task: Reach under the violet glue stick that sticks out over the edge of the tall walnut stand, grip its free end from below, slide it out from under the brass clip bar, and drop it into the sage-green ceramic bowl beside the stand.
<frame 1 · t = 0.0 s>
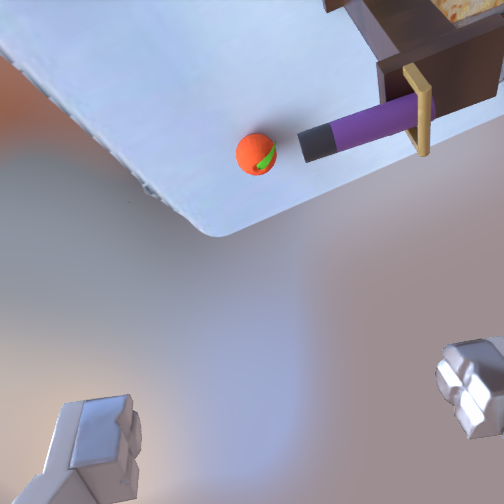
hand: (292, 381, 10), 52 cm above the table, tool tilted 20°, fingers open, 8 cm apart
food plate: (472, 18, 57), on the table
glue stick: (359, 117, 36), point 26 cm above the table, touching stand
clementine: (254, 138, 69), on the table
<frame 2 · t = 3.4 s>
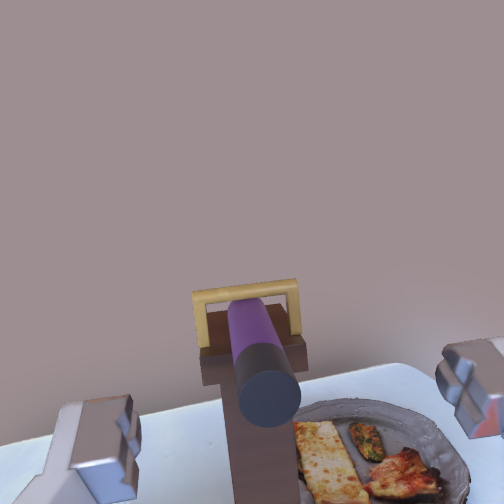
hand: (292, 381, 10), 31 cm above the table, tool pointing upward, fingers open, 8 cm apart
food plate: (360, 467, 51), on the table
glue stick: (257, 367, 23), point 26 cm above the table, touching stand
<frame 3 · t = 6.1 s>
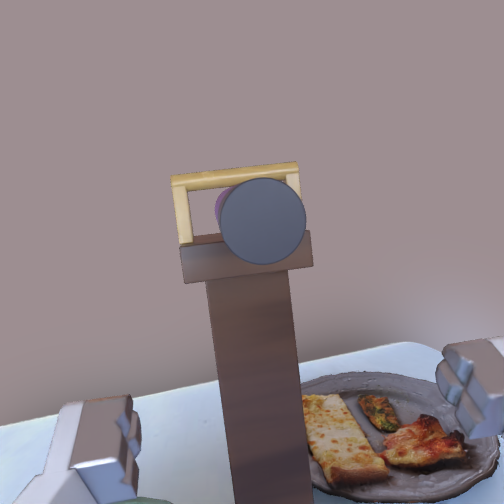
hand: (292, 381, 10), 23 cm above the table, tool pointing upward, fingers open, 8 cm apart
food plate: (373, 439, 45), on the table
glue stick: (250, 243, 18), point 26 cm above the table, touching stand
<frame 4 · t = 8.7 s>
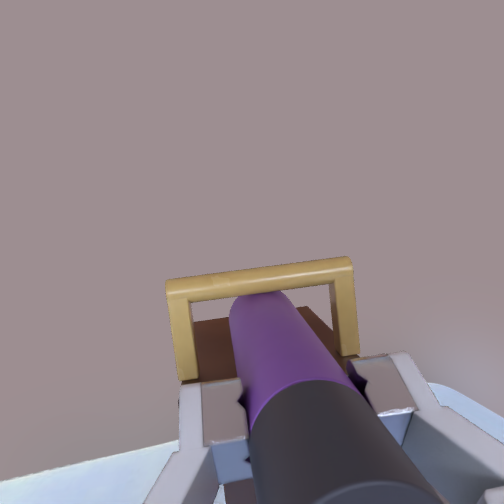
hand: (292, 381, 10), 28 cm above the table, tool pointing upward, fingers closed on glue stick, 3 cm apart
glue stick: (293, 425, 11), point 26 cm above the table, touching gripper, stand
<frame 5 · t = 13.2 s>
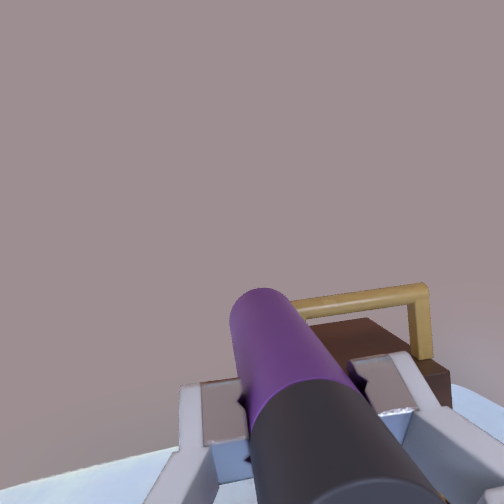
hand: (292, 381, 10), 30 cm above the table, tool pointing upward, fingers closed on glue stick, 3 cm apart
glue stick: (293, 426, 11), point 28 cm above the table, touching gripper
when the fingers open (17 cm above the table, at t = 17.6 s): glue stick drops 15 cm, resting on bowl.
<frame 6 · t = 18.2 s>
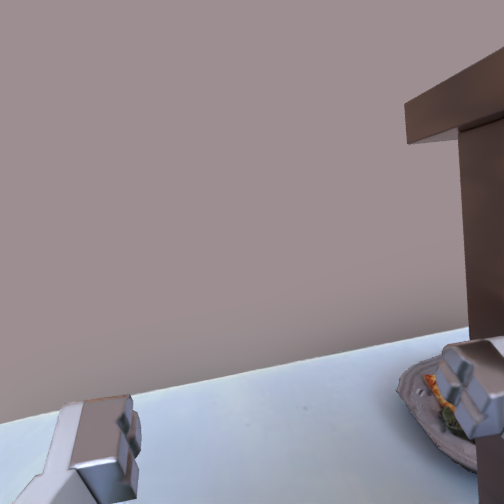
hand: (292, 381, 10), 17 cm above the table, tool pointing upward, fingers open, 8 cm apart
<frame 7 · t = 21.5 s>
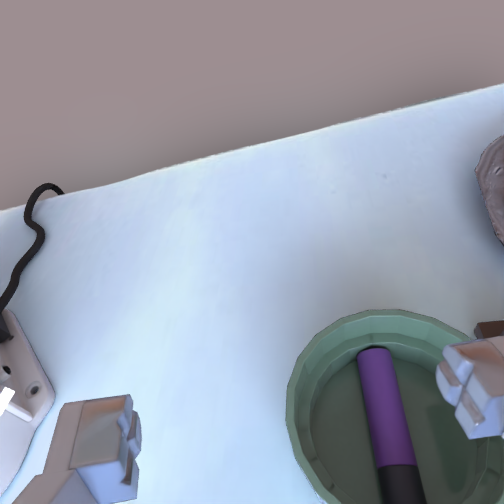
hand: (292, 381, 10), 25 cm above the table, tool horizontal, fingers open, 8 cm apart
glue stick: (387, 432, 31), resting on bowl
bowl: (389, 432, 31), on the table
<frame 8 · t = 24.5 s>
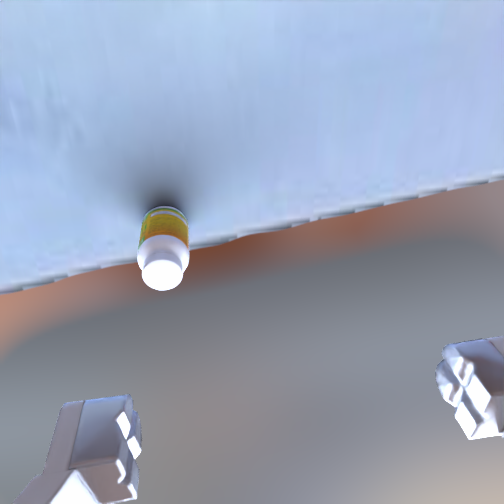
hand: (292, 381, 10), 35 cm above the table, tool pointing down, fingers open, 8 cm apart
supplement bottle: (165, 223, 47), on the table
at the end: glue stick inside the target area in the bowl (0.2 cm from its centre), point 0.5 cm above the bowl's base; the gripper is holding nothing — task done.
